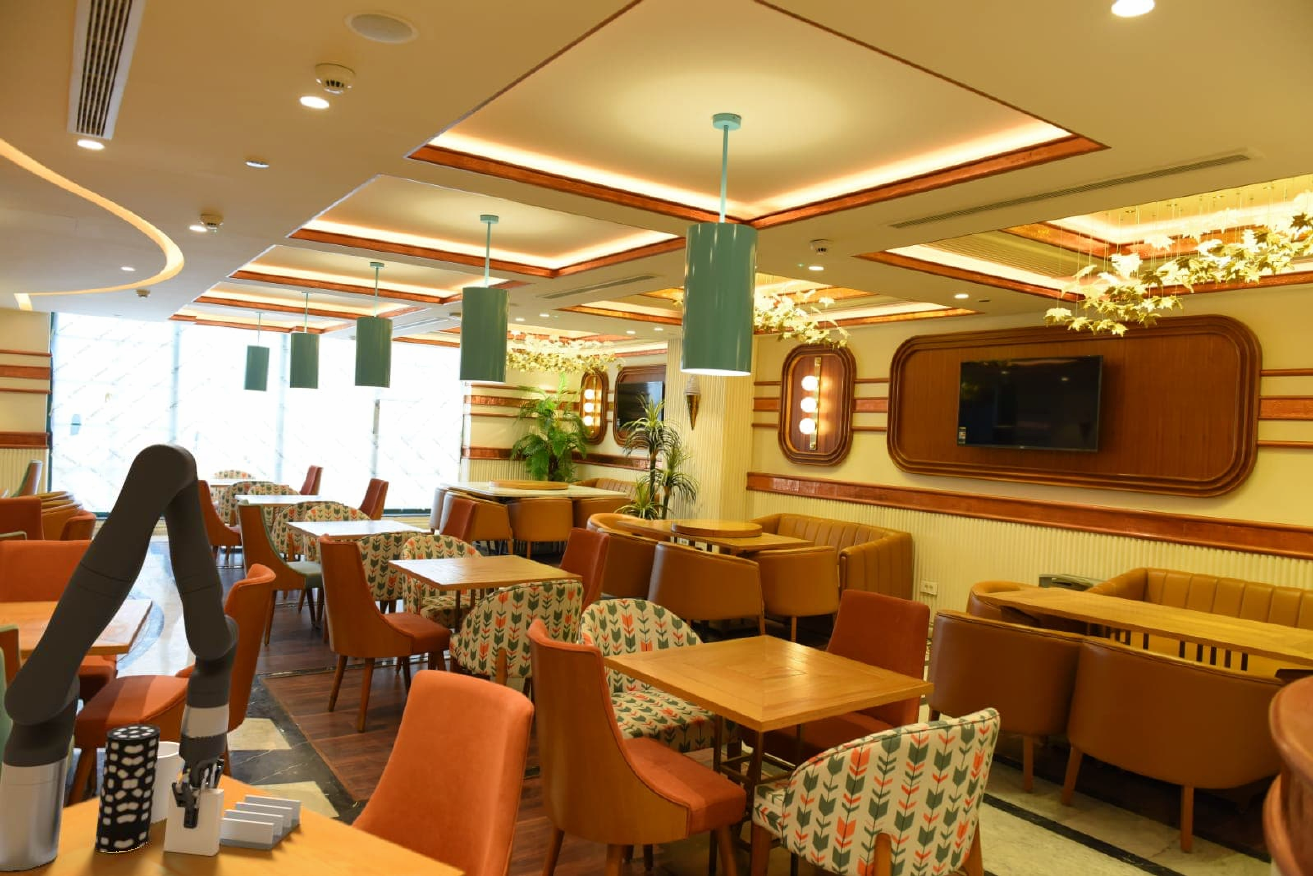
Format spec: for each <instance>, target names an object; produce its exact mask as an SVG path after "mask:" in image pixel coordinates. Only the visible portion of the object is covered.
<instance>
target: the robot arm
mask: <svg viewBox="0 0 1313 876" xmlns="http://www.w3.org/2000/svg"><path fill="white" fill-rule="evenodd" d="M197 466H198V465H197V461H196V459H195V457H194V455H193V454H192V453H191V452H190V451H189V450H188V449H187V448H185V447H183V446H181V445H179V444H174V443H155V444H151V445H149V446H146V447H145V448H143V449H142V450H141V451H139V452H138V453H137V454H136V456H135V458H134V459H133V461H132V463H131V465H130V467H129V470H128V473H127V475H126V477H125V480H124V481H123V485H122V487H121V489H120V492H119V494H118V496H117V499H116V501H115V503H114V505H113V507H112V509H111V511H110V512H109V514H108V516H107V518H106V519H105V521H104V522H103V524H102V525H101V527H100V528H99V530H98V531H97V532H96V534H95V536H94V537H93V539H92V540H91V542H90V543H89V545H88V547H87V549H86V550H85V552H84V554H83V555H82V557H81V559H80V560H79V562H78V564H77V565H76V567H75V569H74V571H73V573H72V574H71V577H70V578H69V581H68V582H67V584H66V586H65V587H64V590H63V592H62V593H61V596H60V597H59V600H58V602H57V604H56V607H55V608H54V610H53V613H52V614H51V617H50V619H49V622H48V623H47V626H46V627H45V630H44V632H43V633H42V636H41V638H40V639H39V641H38V643H37V644H36V645H35V647H34V648H33V650H32V651H31V653H30V655H29V656H28V657H27V659H26V660H25V662H24V663H23V664H22V666H21V667H20V669H19V670H18V671H17V673H16V674H15V676H14V677H13V678H12V680H11V681H10V683H8V685H7V687H6V689H5V693H4V695H3V705H4V706H3V707H4V710H5V713H6V714H7V716H8V718H10V719H11V720H12V727H11V730H10V732H9V735H8V737H7V740H6V741H5V744H4V746H3V753H2V762H1V763H2V764H1V771H0V772H1V773H0V871H3V872H14V871H13V870H20V871H25V870H30V869H34V868H33V867H35V868H37V867H36V866H38V867H40V866H39V865H41V866H43V864H44V865H46V864H48V863H50V862H52V861H53V860H54V859H56V857H58V854H59V853H58V852H59V844H60V836H61V835H60V834H61V827H62V817H63V808H64V801H65V800H64V799H65V791H66V789H65V788H66V781H67V770H68V763H69V754H70V746H71V742H72V739H73V736H74V733H75V728H76V723H77V716H78V715H77V713H78V708H79V707H78V706H79V699H80V692H81V691H80V690H81V689H80V687H81V683H80V681H81V680H80V678H79V674H78V672H79V670H80V667H81V666H82V663H83V662H84V661H85V657H86V656H87V654H88V652H90V649H91V648H92V646H93V645H94V644H95V642H96V641H97V640H98V638H100V637H101V635H102V633H103V632H104V631H105V630H106V628H107V627H108V625H109V624H110V623H111V622H112V620H113V619H114V618H115V616H116V615H117V614H118V612H119V611H120V609H121V608H122V606H123V604H124V602H125V601H126V599H127V598H128V596H129V594H130V593H131V591H132V589H133V587H134V585H135V584H136V581H137V579H138V577H139V575H140V573H141V571H142V569H143V566H144V563H145V560H146V557H147V553H148V551H149V547H150V544H151V543H150V542H151V540H152V537H153V536H152V535H153V533H154V530H155V528H156V526H157V524H158V522H159V520H160V519H161V518H162V516H163V518H164V522H165V527H166V531H167V532H166V533H167V539H168V549H169V559H170V560H169V561H170V567H171V570H172V571H171V572H172V574H173V579H174V582H175V585H176V589H177V591H178V596H179V598H180V601H181V605H182V615H183V623H184V625H183V626H184V633H185V638H186V641H187V644H188V647H189V649H190V650H191V652H192V654H193V655H194V656H195V661H194V667H193V669H192V671H191V673H190V675H189V678H188V682H187V687H186V695H185V704H184V708H183V709H184V710H183V713H182V717H181V718H182V719H181V726H180V727H181V728H180V734H179V756H180V757H181V758H183V759H184V761H183V762H184V764H183V768H182V772H181V774H182V776H181V777H180V779H178V781H174V782H173V783H172V790H173V794H174V797H175V801H176V804H177V807H183V808H185V815H184V824H183V826H184V828H189V829H194V828H195V827H197V822H198V813H199V804H200V798H201V794H202V793H204V790H205V788H214V789H218V786H219V783H220V781H221V777H222V774H223V772H224V768H225V766H226V759H221V758H219V757H221V756H223V755H224V754H225V752H226V747H227V739H228V738H227V737H228V726H229V719H230V718H229V717H230V706H229V705H230V695H231V685H232V674H233V673H232V672H233V669H234V665H235V660H236V656H237V651H238V646H239V642H240V641H239V638H240V630H239V629H240V628H239V625H238V623H237V622H236V621H235V619H234V618H233V617H231V616H230V615H227V614H225V611H224V606H223V598H224V587H223V582H222V579H221V576H220V572H219V568H218V566H217V561H216V558H215V555H214V551H213V549H212V545H211V542H210V539H209V535H208V531H207V527H206V523H205V520H204V514H203V510H202V505H201V504H202V503H201V498H200V490H199V489H200V488H199V487H200V486H199V477H198V467H197ZM191 787H193V788H191ZM197 788H198V789H197ZM192 795H194V796H195V798H194V800H193V796H192ZM49 861H50V862H49ZM47 862H48V863H47ZM45 863H46V864H45Z"/></svg>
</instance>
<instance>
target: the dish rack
mask: <svg viewBox="0 0 1313 876" xmlns="http://www.w3.org/2000/svg"><path fill="white" fill-rule="evenodd" d="M301 804H302V800H297V799H290V798H287V799H286V798H279V797H278V798H277V797H268V796H260V795H252V794H251V795H250V794H245V796H244V802H242V801H236V802H235V803H234V809H228V808H227V809H226V810H224V817H222V823H221V833H220V843H219V844H221V845H220V846H228V847H237V848H243V849H244V848H246V849H254V850H261V851H262V850H264V851H270V850H272V849H273V847H275V846H276V845H277V844H278V843H279V842H280V841H281V840H283V839H284V838H285V837H286V836H287V835H288V834H289V833H290V832H291V831H292V830H294V829H295V828H296V827H297V826H298V825H299V824H300V821H301V820H300V819H301V818H300V813H301V806H302V805H301Z"/></svg>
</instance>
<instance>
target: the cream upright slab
mask: <svg viewBox="0 0 1313 876" xmlns="http://www.w3.org/2000/svg"><path fill="white" fill-rule="evenodd" d="M191 788H193V787H191ZM197 789H198V788H197ZM225 792H226V791H225V789H223V788H217V789H214V788H205V790H204V793H202V794H201V798H200V804H199V813H198V822H197V827H195V828H194V829H189V828H184V826H183V824H184V815H185V808H183V807H177V804H176V801H175V797H174V794H173V790H172V788H170V794H169V804H168V813H167V819H166V824H165V834H164V845H163V851H164V852H170V853H171V852H173V853H179V854H180V853H183V854H189V855H190V854H192V855H197V856H198V855H201V856H208V857H209V856H211V857H213V856H215V855H216V854H217V853H219V850H220V845H219V843H220V833H221V823H222V818H223V812H224V802H225ZM192 796H193V800H194V798H195V796H194V795H192Z"/></svg>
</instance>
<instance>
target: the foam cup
mask: <svg viewBox="0 0 1313 876" xmlns="http://www.w3.org/2000/svg"><path fill="white" fill-rule="evenodd" d="M179 744H180V742H173V741H159V748H158V758H157V767H156V777H155V786H154V795H153V805H152V814H151V823H153V824H156V823H155V822H158V821H161V820H163V819H165V820H167V819H166V818H167V813H168V804H169V794H170V788H172V783H173V782H174V781H179V776H180V772H181V768H182V763H183V762H185V761H184V759H183V758H181V757H180V756H179ZM163 821H164V820H163ZM161 822H162V821H161ZM151 823H150V825H152V824H151ZM158 823H159V822H158Z"/></svg>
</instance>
